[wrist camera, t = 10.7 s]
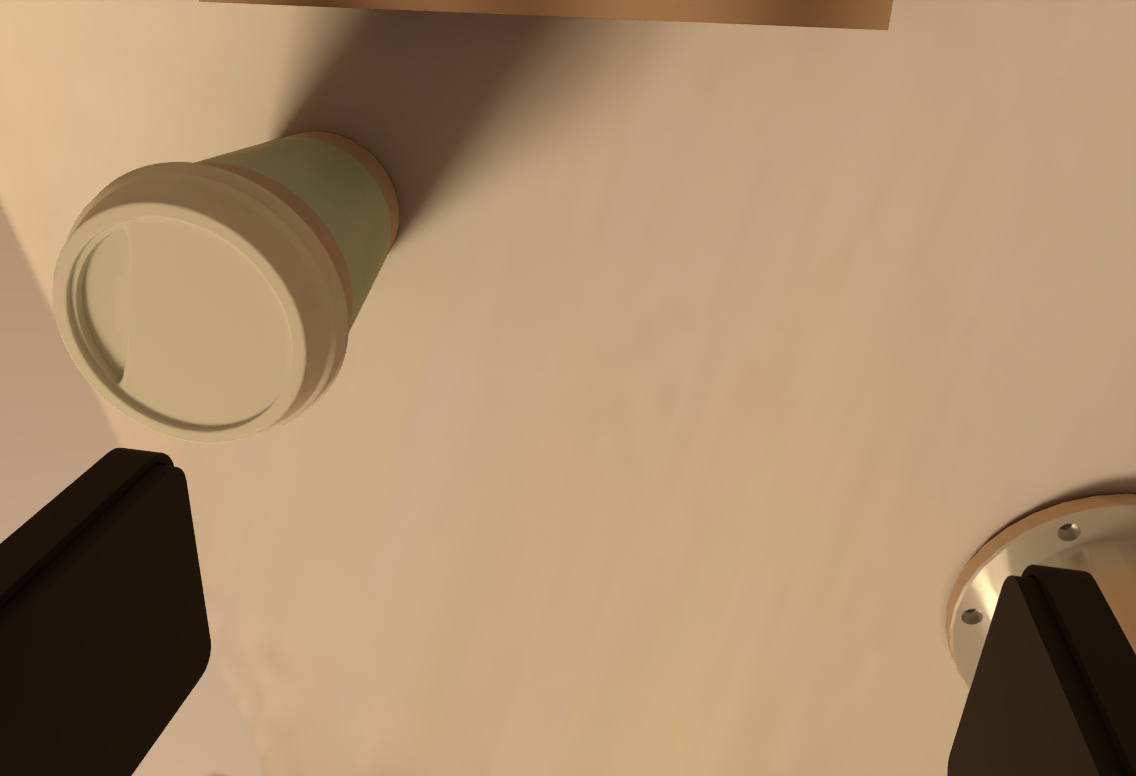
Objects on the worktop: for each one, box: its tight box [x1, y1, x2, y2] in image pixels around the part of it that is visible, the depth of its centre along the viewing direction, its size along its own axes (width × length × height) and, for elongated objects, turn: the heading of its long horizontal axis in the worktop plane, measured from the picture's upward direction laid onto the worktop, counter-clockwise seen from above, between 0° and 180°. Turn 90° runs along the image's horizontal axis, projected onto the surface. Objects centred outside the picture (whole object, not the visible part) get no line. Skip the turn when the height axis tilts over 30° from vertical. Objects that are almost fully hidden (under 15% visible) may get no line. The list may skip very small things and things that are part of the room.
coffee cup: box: [52, 131, 399, 443], centre depth 32 cm, size 9×8×12 cm
